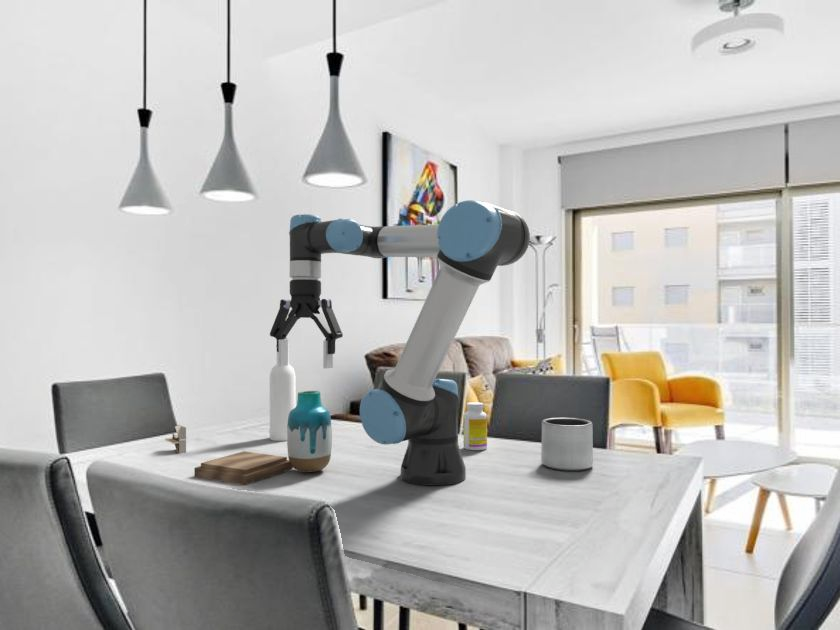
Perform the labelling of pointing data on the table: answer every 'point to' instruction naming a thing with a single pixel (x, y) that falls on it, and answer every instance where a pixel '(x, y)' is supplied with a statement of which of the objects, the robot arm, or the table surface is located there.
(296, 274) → the robot arm
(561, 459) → the planter
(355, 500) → the table surface
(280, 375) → the bottle
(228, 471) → the pedestal
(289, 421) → the vase
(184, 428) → the architectural model
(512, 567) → the table surface
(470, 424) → the supplement bottle
